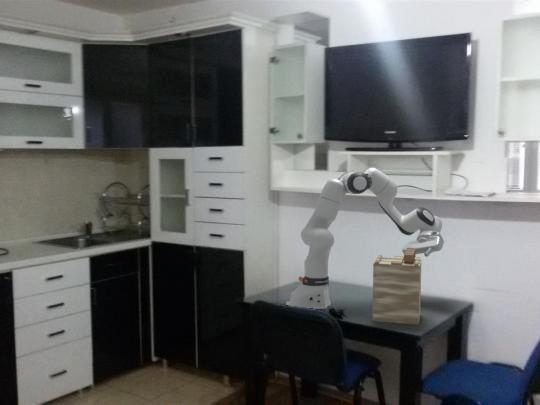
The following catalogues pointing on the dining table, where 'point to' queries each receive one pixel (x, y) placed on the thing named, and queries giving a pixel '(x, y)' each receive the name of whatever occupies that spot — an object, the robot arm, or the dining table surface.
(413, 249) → the rail bar
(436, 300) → the dining table surface
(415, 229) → the robot arm
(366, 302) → the dining table surface
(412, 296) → the slotted stand
